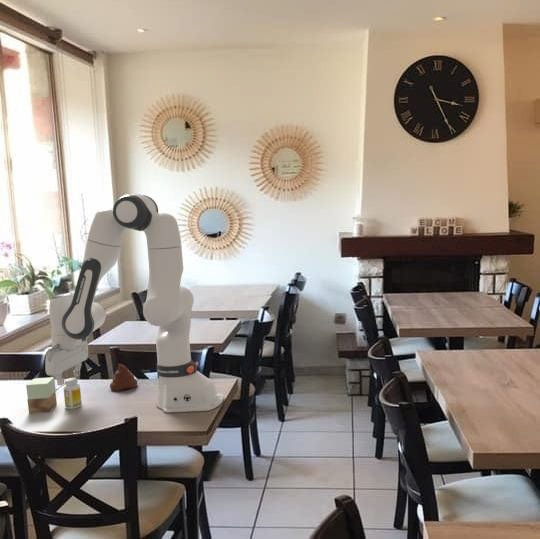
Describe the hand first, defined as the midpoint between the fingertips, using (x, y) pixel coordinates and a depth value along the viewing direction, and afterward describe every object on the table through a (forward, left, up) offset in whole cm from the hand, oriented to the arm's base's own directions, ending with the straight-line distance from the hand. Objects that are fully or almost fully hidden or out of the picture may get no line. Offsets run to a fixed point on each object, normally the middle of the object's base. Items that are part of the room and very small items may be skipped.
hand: (69, 380), depth 197 cm
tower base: (+9, +3, -10) cm, 14 cm away
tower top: (+9, +3, -5) cm, 11 cm away
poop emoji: (-9, -20, -10) cm, 24 cm away
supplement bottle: (-1, 0, -10) cm, 10 cm away
